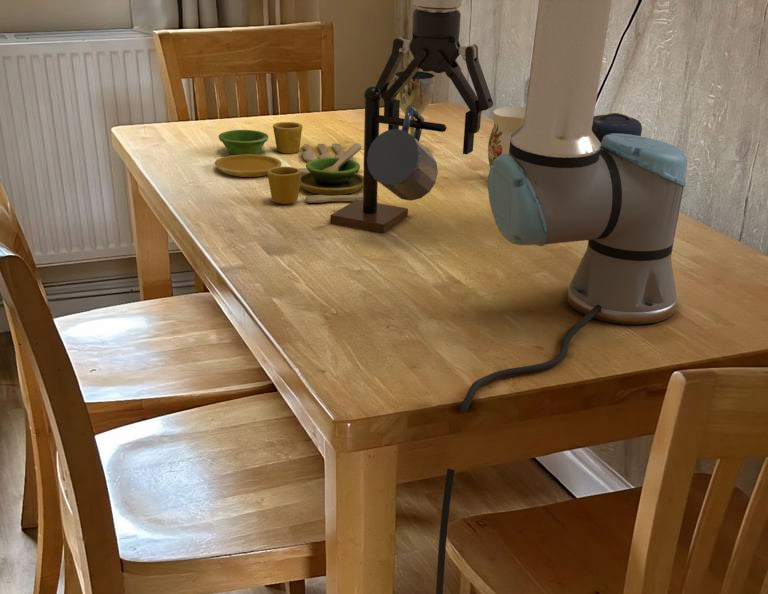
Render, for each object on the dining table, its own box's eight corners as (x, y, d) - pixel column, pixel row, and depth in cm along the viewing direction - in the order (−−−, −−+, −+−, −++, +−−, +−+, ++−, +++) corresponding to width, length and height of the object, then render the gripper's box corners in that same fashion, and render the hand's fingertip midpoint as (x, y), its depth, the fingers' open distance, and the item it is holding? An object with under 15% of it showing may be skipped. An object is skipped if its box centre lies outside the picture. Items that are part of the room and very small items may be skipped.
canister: (627, 230, 181) (645, 122, 171) (572, 225, 182) (586, 117, 173) (628, 213, 189) (644, 109, 179) (574, 208, 190) (588, 104, 181)
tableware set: (377, 205, 188) (378, 169, 185) (220, 209, 184) (218, 172, 181) (344, 144, 223) (344, 113, 219) (211, 146, 218) (209, 115, 215)
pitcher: (520, 168, 211) (527, 96, 204) (557, 194, 197) (566, 118, 190) (468, 171, 209) (474, 98, 201) (503, 198, 194) (510, 121, 187)
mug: (361, 180, 166) (382, 196, 175) (411, 188, 163) (430, 204, 172) (380, 96, 165) (401, 116, 174) (431, 103, 162) (449, 123, 171)
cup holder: (428, 241, 173) (435, 102, 161) (330, 223, 179) (330, 88, 167) (451, 224, 181) (459, 90, 169) (356, 207, 187) (358, 77, 175)
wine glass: (406, 143, 225) (409, 69, 217) (437, 150, 221) (442, 74, 213) (384, 151, 219) (387, 75, 211) (416, 158, 215) (419, 80, 207)
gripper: (520, 12, 164) (507, 151, 175) (375, -2, 172) (372, 132, 184) (504, 19, 158) (492, 162, 169) (355, 4, 167) (353, 141, 178)
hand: (429, 147), depth 177 cm, fingers open, 13 cm apart
